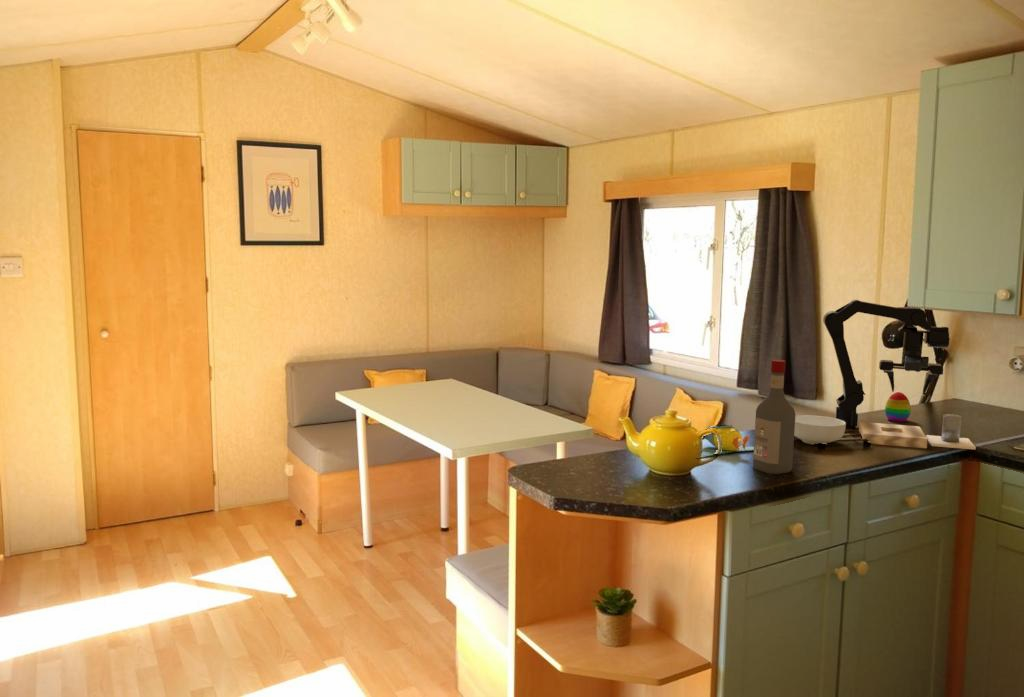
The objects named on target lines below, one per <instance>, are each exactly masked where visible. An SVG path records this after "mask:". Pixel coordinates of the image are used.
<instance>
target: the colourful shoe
mask: <svg viewBox="0 0 1024 697" xmlns="http://www.w3.org/2000/svg"><path fill="white" fill-rule="evenodd" d="M710 428H716V429H717V431H718V432H719V433H720V435H721V440H722V446H723V447H722V452H721V453H720V454H719V455H722V454H728V453H733V452H737V453H738V452H749V451H754V446H746V444H747V443H748V441H749V439H750V438H751V435H750V436H748V435H745V436H744V437H742V434H741V432H740V431H738V430H737V429H735V427H734V426H733V425H732V424H731V425H730V424H723V425H722V424H721V425H709V426H707V428H706V429H705V430H707V429H710ZM701 438H702V437H701ZM701 440H703V441H704V440H706V441H708V442H709V443H710V444H711V445H712V446H714V448H716V449H711V450H705V451H701V452H702V458H706V457H711V456H714V455H713V454H714V453H715V452H716V450H717V449H718V441H717V437H716V436H715V435H714V434H709V435H706V436H703V438H702V439H701Z"/></svg>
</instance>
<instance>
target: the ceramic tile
mask: <svg viewBox="0 0 1024 697" xmlns="http://www.w3.org/2000/svg"><path fill="white" fill-rule="evenodd" d="M925 436H926V437H927V442H929V444H930V446H932V447H939V448H940V447H941V448H951V449H952V448H953V449H962V450H974V451H975V450H976V448H977V447H976V446H975V445H974V443H973V442H972V441H971V440H970V438H968V437H960V439H959V442H958V443H950V442H944V441H942V440H941V437H942V435H931V434H930V435H929V434H926V435H925Z"/></svg>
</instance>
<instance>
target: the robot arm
mask: <svg viewBox="0 0 1024 697" xmlns="http://www.w3.org/2000/svg"><path fill="white" fill-rule="evenodd" d="M857 313H861V314H867V315H873V316H878V317H883V318H888V319H889V318H890V319H894V320H896V321H900V322H902V323H904V324H903V325H901V327H899V328H897V330H898V332H902V333H903V343H902V344H903V345H902V354H901V363H899V362H898V363H897V362H894V361H893V360H891V359H890V360H889V359H881V360H880V361H879V363H878V365H879V366H878V368H879V370H880V371H882V372H883V373H885V374H887V377H888V380H889V383H890V387H891V388H890V389H891V392H892V393H895V392H894V391H895V376H894V375H895V371H894V369H897V370H905V371H906V372H910V371H911V372H912V371H913V372H917V373H919V372H921V371H924V372H926V373H925V377H924V382H923V387H922V395H925V394H926V392H927V389H928V387H929V385H930V384H931V382H932V381H933V379H934V378H937V377H939V375H943V374H944V367H943V365H942V364H941V363H932V362H931V363H929V362H930V360H929V359H930V357H929V356H922V355H923V354H922V353H923V352H922V351H923V345H924V344H926V345H927V347H928V348H938V349H939V348H940V349H941V348H942V349H948V347H949V345H950V340H951V338H950V331H949V327H948V326H932V325H931V324H930V322H929V321H928V320H927V318H928V317H927V313H926V312H925V310H924V309H922V308H919V307H915V306H898V307H897V306H890V305H886V304H885V305H884V304H881V303H880V304H879V303H873V302H867V301H862V300H859V299H852V300H851V301H850V302H848V303H847V304H845V305H842V306H840V307H839V308H837V309H836V310H835V311H834V310H831V311H830V310H829V311H828V312H826V313H825V314H824V316H823V318H822V319H823V320H822V321H823V323H824V326H825V328H826V330H827V332H828V334H829V336H830V338H831V341H832V344H833V347H834V351H835V356H836V360H837V363H838V366H839V369H840V373H841V376H842V377H841V378H842V393H843V394H842V395H840V396H839V397H838V398H837V399H836V400H835V401H836V405H837V406H836V407H835V417H834V418H836V419H840V420H842V421H844V422H845V423H846V427H845V429H855V430H856V429H857V427H858V423H859V422H858V421H859V420H858V419H859V413H858V412H857V408H858V406H860V405H861V404H862V403H863V401H864V398H865V397H864V396H865V395H866V393H865V391H864V388H863V386H864V385H863V383H862V381H861V380H860V379H858V380H857V379H856V377H855V374H854V370H853V366H852V363H851V362H852V361H851V360H850V355H849V352H848V349H847V345H846V341H845V328H844V326H845V325H844V323H845V322H846V321H847V320H849V319H850V318H852V317H854V315H856V314H857ZM906 324H908V325H911V326H907V325H906ZM917 327H919V328H921V330H920V329H919V330H918V328H917ZM922 329H923V330H922Z"/></svg>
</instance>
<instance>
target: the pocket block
mask: <svg viewBox="0 0 1024 697" xmlns="http://www.w3.org/2000/svg"><path fill="white" fill-rule="evenodd" d="M858 425H859V426H858V433H859V435H860V434H861V436H862V438H863V439H867V440H869V441H870V443H871V444H870V445H880V446H881V445H882V446H894V447H895V446H896V447H906V448H915V449H918V448H919V449H927V448H928V439H927V437H926V435H925V433H924V432H923V430H922V429H921V427H920V426H917V425H906V424H905V425H904V424H891V423H879V422H867V421H859V422H858ZM861 436H860V437H861Z"/></svg>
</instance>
